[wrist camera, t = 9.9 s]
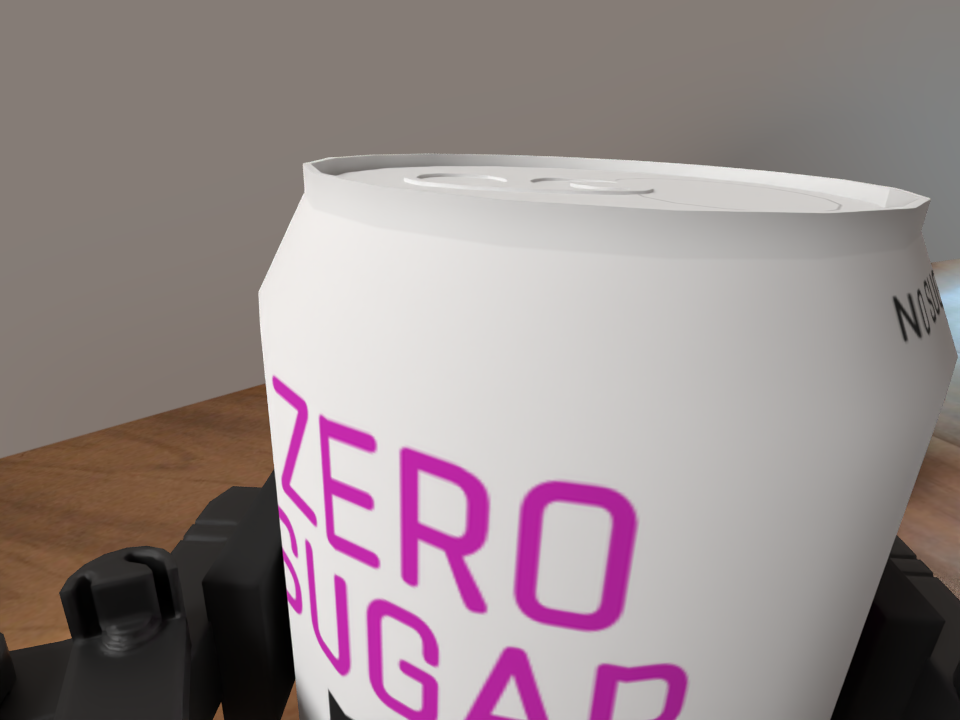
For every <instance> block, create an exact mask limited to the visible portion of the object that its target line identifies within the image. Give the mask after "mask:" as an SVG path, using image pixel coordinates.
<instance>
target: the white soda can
mask: <svg viewBox="0 0 960 720" xmlns="http://www.w3.org/2000/svg"><path fill="white" fill-rule="evenodd" d="M303 174H304V189H305V192H304V194H303V196H302V198H301V201H300V203H299V205H298V207H297V210H296V212H295V214H294V216H293V218H292V220H291V223H290V225H289V227H288V229H287V232H286V234H285V236H284V238H283V240H282V242H281V244H280V247H279V249H278V251H277V253H276V255H275V257H274V260H273V262H272V264H271V266H270V269H269V271H268V273H267V275H266V277H265V280H264V282H263V284H262V286H261V288H260V290H259V292H258V294H259V311H260V328H261V339H262V349H263V359H264V369H265V379H266V389H267V399H268V409H269V419H270V429H271V439H272V449H273V459H274V469H275V479H276V489H277V499H278V509H279V519H280V529H281V539H282V549H283V558H284V568H285V578H286V588H287V598H288V608H289V618H290V628H291V638H292V648H293V658H294V668H295V678H296V688H297V698H298V708H299V718H300V720H830V719H831V716H832V713H833V710H834V708H835V705H836V702H837V699H838V696H839V694H840V691H841V688H842V685H843V682H844V680H845V677H846V674H847V671H848V668H849V666H850V663H851V660H852V657H853V655H854V652H855V649H856V646H857V643H858V641H859V638H860V635H861V632H862V629H863V627H864V624H865V621H866V618H867V615H868V613H869V610H870V607H871V604H872V601H873V599H874V596H875V593H876V590H877V587H878V585H879V582H880V579H881V576H882V574H883V571H884V568H885V565H886V562H887V560H888V557H889V554H890V551H891V548H892V546H893V543H894V540H895V537H896V534H897V532H898V529H899V526H900V523H901V520H902V518H903V515H904V512H905V509H906V506H907V504H908V501H909V498H910V495H911V492H912V490H913V487H914V484H915V481H916V479H917V476H918V473H919V470H920V467H921V465H922V462H923V459H924V456H925V453H926V451H927V448H928V445H929V442H930V439H931V437H932V434H933V431H934V428H935V425H936V423H937V420H938V417H939V414H940V411H941V409H942V406H943V403H944V400H945V397H946V394H947V391H948V387H949V384H950V381H951V377H952V374H953V371H954V368H955V364H956V361H957V358H958V356H957V352H956V349H955V346H954V342H953V339H952V335H951V332H950V328H949V325H948V321H947V318H946V315H945V311H944V308H943V304H942V301H941V297H940V294H939V290H938V287H937V283H936V280H935V277H934V273H933V270H932V266H931V263H930V260H929V256H928V252H927V249H926V245H925V242H924V239H923V235H922V232H921V230H922V226H923V223H924V220H925V217H926V213H927V210H928V207H929V204H930V200H931V199H930V198H927V197H924V196H921V195H918V194H914V193H911V192H908V191H905V190H902V189H899V188H892V187H886V186H880V185H874V184H868V183H861V182H855V181H849V180H843V179H835V178H825V177H817V176H809V175H799V174H791V173H782V172H773V171H762V170H751V169H739V168H728V167H716V166H704V165H691V164H677V163H662V162H647V161H632V160H613V159H593V158H574V157H551V156H550V157H549V156H520V155H484V154H394V155H393V154H390V155H389V154H388V155H362V156H347V157H332V158H326V159H321V160H317V161H312V162H308V163H303Z"/></svg>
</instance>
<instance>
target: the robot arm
mask: <svg viewBox="0 0 960 720" xmlns="http://www.w3.org/2000/svg"><path fill="white" fill-rule="evenodd" d="M59 594H60V597H61V601H62V604H63V608H64V612H65V615H66V619H67V622H68V626H69V629H70V633H71V637H72V638H71V639H68V640H64V641H60V642H55V643H49V644H44V645H39V646H34V647H29V648H24V649H18V650H13V651H9V650H8V647H7V644H6V641H5V638H4V635H3V634H2V633H1V632H0V720H213V718H214V716H215V713H216V711H217V709H218V707H219V705H220V703H221V702H222V708H223V714H224V720H281V717H282V714H283V711H284V709H285V706H286V703H287V700H288V698H289V695H290V692H291V689H292V687H293V684H294V681H295V679H296V678H295V668H294V658H293V648H292V638H291V628H290V618H289V608H288V598H287V588H286V578H285V568H284V558H283V549H282V539H281V529H280V519H279V509H278V499H277V489H276V479H275V469H274V470H273V472H272V473H271V475H270V476H269V478H268V479H267V481H266V483H265V484H264V486H263V487H262V488H257V487H237V486H233V487H231V488H230V489H228V490H227V491H225V492H224V493H222V494H221V495H219V496H218V497H216V498H215V499H213V500H212V501H210V502H209V504H208V505H207V506H206V507H205V509H204V510H203V511H202V513H201V514H200V515H199V517H198V518H197V519H196V522H195V524H193V525H192V526H191V527H190V529H189V530H188V531H187V532H186V534H185V535H184V539H183V540H180V542H179V543H178V544H177V546H176V547H175V548H174V550H173V551H172V552H171V554H170V553H169V552H167V551H166V550H164V549H161V548H156V547H150V546H141V547H129V548H124V549H121V550H117V551H114V552H110V553H107V554H104V555H102V556H100V557H98V558H96V559H94V560H93V561H91V562H89V563H87V564H85V565H83V566H82V567H81V568H80V569H79V570H77V571H76V572H75V573H74V574H73V575H71V576H70V577H69V578H68V579H67V581H66V583H65V584H64V586H63V587H62V589H61V591H60V592H59ZM830 720H960V600H959V599H958V598H957V597H956V596H955V595H954V594H953V593H952V592H951V591H950V590H949V589H948V588H947V587H946V586H945V585H944V584H943V583H942V582H941V581H940V580H939V579H938V578H937V577H933V572H932V571H931V570H930V569H929V568H928V567H927V566H926V565H925V564H924V563H923V562H922V561H921V560H917V558H916V555H915V554H914V553H913V551H912V550H911V549H910V548H909V547H908V546H907V545H906V544H905V543H904V542H903V541H902V540H901V539H900V538H899V537H898V536H897V535H896V537H895V540H894V543H893V546H892V548H891V551H890V554H889V557H888V560H887V562H886V565H885V568H884V571H883V574H882V576H881V579H880V582H879V585H878V587H877V590H876V593H875V596H874V599H873V601H872V604H871V607H870V610H869V613H868V615H867V618H866V621H865V624H864V627H863V629H862V632H861V635H860V638H859V641H858V643H857V646H856V649H855V652H854V655H853V657H852V660H851V663H850V666H849V668H848V671H847V674H846V677H845V680H844V682H843V685H842V688H841V691H840V694H839V696H838V699H837V702H836V705H835V708H834V710H833V713H832V716H831V719H830Z"/></svg>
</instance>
